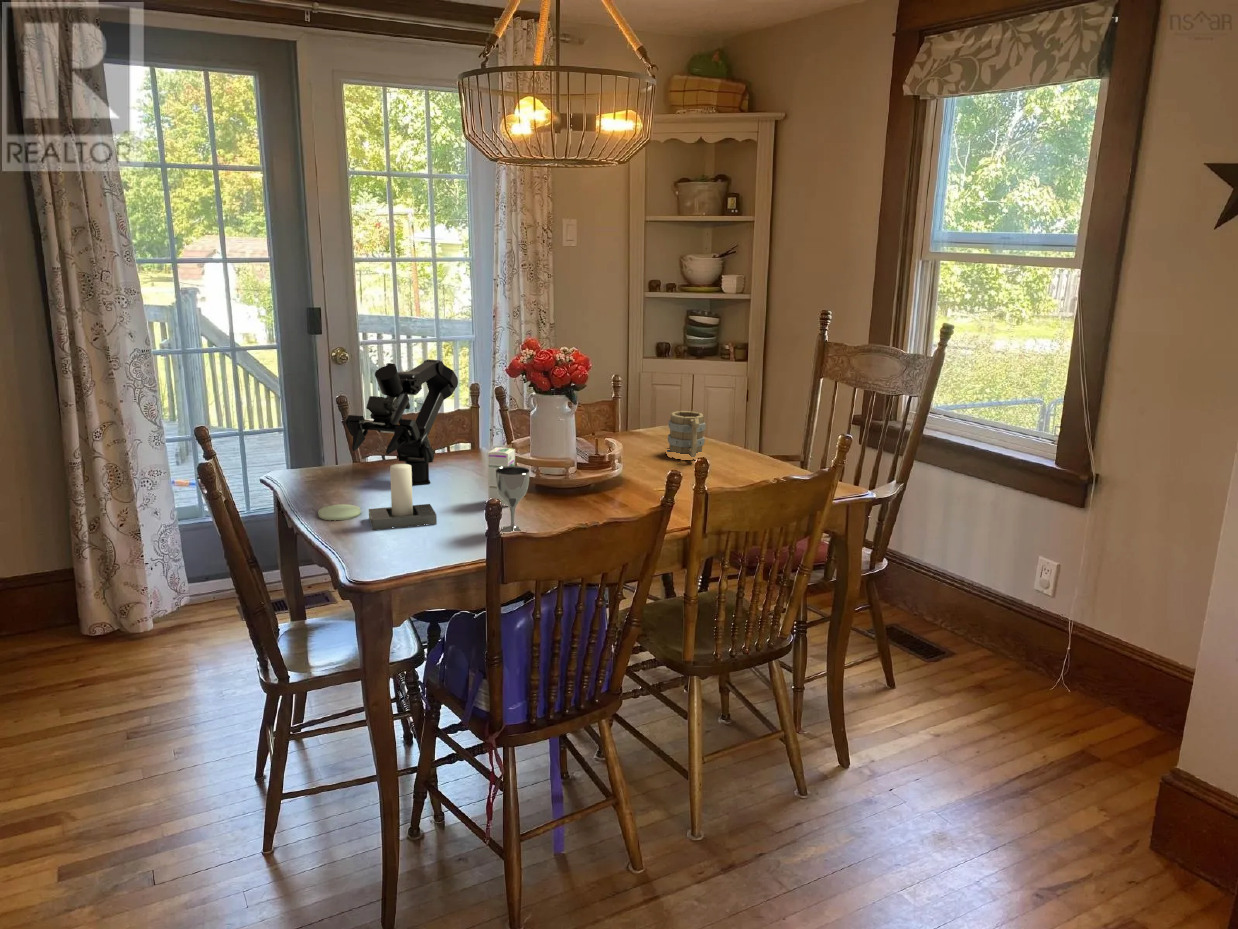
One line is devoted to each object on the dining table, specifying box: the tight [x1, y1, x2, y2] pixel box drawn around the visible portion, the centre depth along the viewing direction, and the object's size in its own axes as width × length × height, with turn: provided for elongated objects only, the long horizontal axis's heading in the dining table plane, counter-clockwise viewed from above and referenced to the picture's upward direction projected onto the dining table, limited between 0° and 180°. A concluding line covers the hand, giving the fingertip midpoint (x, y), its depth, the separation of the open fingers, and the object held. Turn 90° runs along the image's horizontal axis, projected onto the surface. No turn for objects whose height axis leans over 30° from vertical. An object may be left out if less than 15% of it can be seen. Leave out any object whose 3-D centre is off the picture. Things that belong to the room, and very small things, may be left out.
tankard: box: [666, 410, 706, 457], centre depth 284 cm, size 20×13×15 cm, turn 6°
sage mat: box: [318, 504, 361, 522], centre depth 221 cm, size 10×10×1 cm
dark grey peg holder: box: [368, 503, 438, 531], centre depth 217 cm, size 15×9×2 cm, turn 112°
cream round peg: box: [389, 463, 414, 517], centre depth 216 cm, size 5×5×14 cm
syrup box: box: [487, 447, 516, 507], centre depth 233 cm, size 6×6×14 cm
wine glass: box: [496, 465, 530, 532], centre depth 212 cm, size 8×8×15 cm
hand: (370, 451), depth 222 cm, fingers open, 9 cm apart
